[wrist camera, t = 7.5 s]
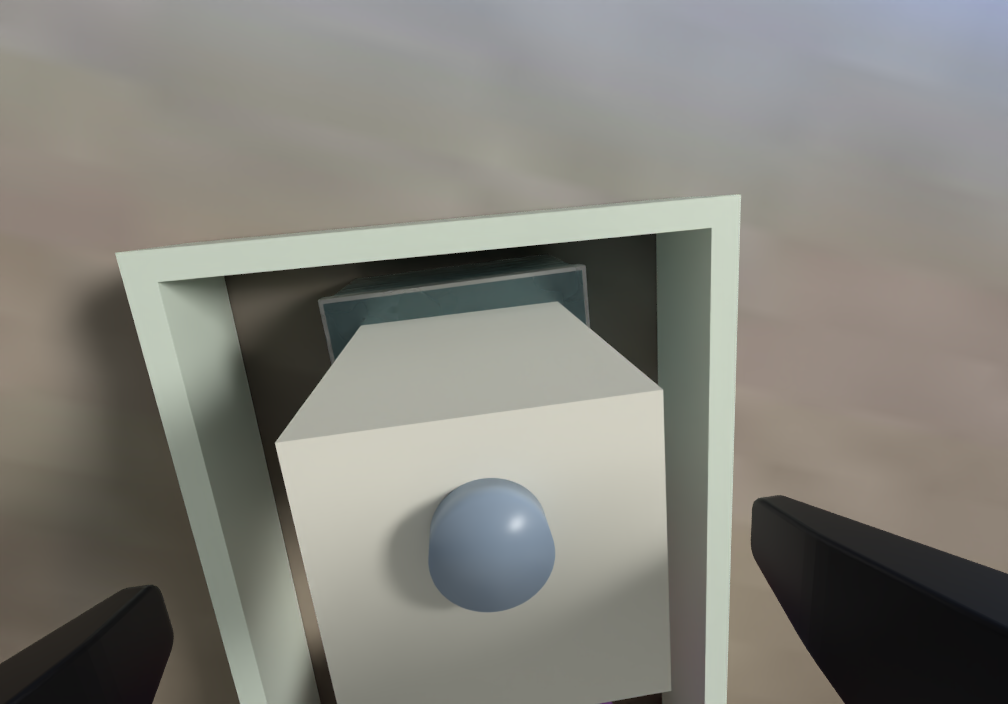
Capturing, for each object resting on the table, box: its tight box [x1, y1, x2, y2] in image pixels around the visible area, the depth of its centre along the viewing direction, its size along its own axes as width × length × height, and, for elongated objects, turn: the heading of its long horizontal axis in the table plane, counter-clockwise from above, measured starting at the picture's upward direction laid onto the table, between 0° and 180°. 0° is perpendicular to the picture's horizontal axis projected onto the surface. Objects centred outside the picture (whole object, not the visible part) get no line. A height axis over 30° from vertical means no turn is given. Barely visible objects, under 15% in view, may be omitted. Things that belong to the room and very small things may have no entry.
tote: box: [115, 194, 741, 704], centre depth 19 cm, size 23×16×4 cm
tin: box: [318, 254, 590, 365], centre depth 17 cm, size 7×7×5 cm
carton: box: [275, 301, 671, 704], centre depth 11 cm, size 5×5×8 cm
